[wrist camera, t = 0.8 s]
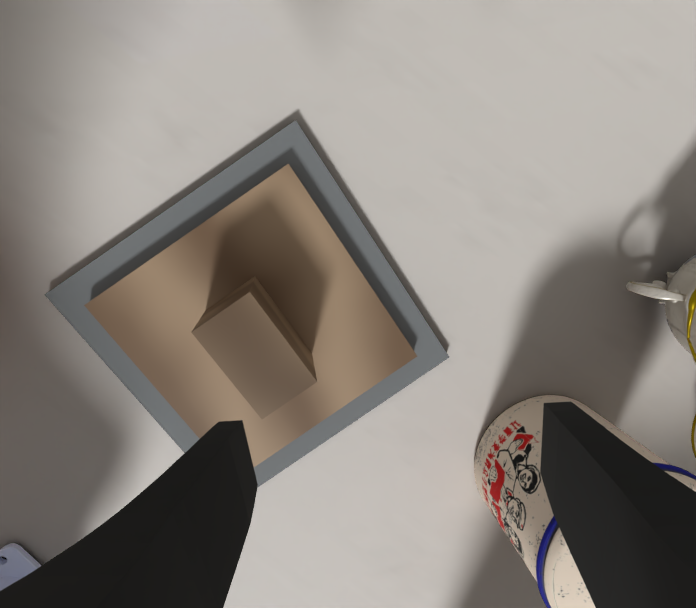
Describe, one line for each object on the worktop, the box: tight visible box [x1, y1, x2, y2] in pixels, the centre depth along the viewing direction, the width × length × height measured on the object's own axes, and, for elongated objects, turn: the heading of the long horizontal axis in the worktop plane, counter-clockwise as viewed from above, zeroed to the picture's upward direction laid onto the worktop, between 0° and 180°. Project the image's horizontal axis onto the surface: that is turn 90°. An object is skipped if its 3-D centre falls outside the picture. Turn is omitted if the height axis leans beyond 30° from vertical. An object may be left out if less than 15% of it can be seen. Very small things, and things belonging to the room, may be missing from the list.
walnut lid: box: [84, 164, 417, 467], centre depth 24 cm, size 12×12×5 cm
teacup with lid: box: [474, 395, 696, 608], centre depth 25 cm, size 12×9×12 cm
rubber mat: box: [45, 120, 449, 487], centre depth 26 cm, size 15×15×1 cm
